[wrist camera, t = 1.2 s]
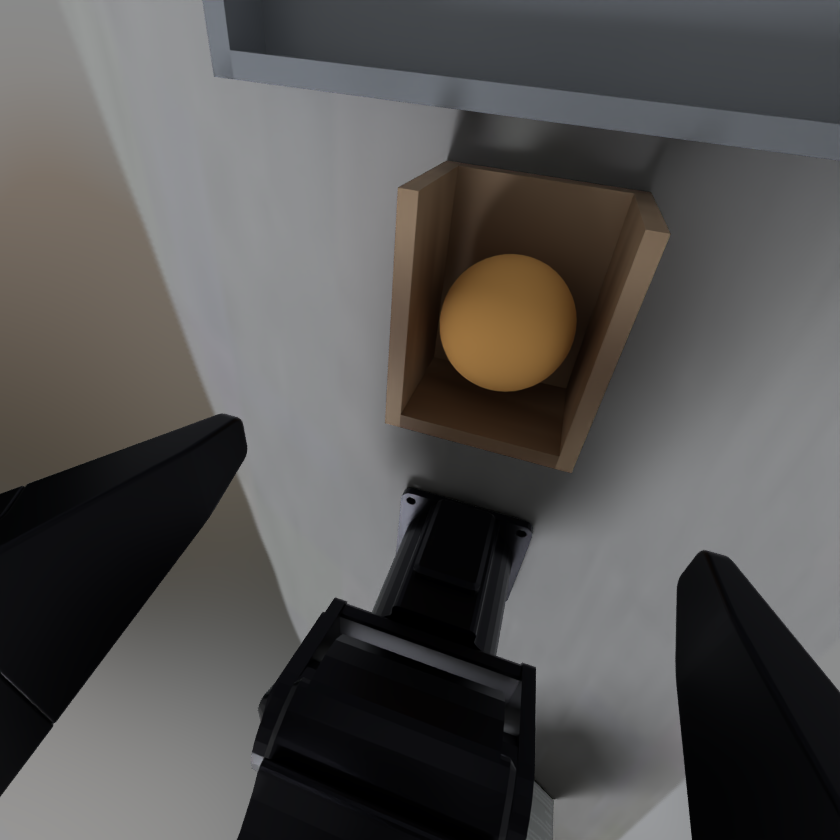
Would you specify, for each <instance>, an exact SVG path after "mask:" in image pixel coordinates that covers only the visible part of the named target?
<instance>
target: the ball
mask: <svg viewBox="0 0 840 840" xmlns="http://www.w3.org/2000/svg"><path fill="white" fill-rule="evenodd" d="M576 324H577V317H576V308H575V303H574V300H573V297H572V294H571V292H570V290H569V288H568V286H567V285H566V283H565V282H564V280H563V279H562V278H561V277H560V275H559V274H558V273H557V272H556V271H555V270H553V269H552V268H551V267H550V266H548V265H547V264H545V263H543V262H542V261H540V260H537V259H535V258H532V257H529V256H525V255H518V254H503V255H497V256H493V257H490V258H486V259H484V260H482V261H480V262H477V263H476V264H474V265H473V266H471V267H469V268H468V269H467V270H466V271H465V272H463V273H462V274H461V275H460V276H459V277H458V279H457V280H456V281H455V282H454V284H453V285H452V286H451V288H450V289H449V291H448V293H447V295H446V297H445V300H444V303H443V305H442V310H441V315H440V336H441V341H442V345H443V348H444V350H445V353H446V355H447V357H448V359H449V360H450V362H451V364H452V365H453V366H454V368H455V369H456V370H457V371H458V372H459V373H460V374H461V375H462V376H463V377H465V378H466V379H467V380H469V381H470V382H472V383H474V384H475V385H478V386H480V387H482V388H486V389H489V390H494V391H503V392H508V391H517V390H522V389H525V388H528V387H531V386H534V385H536V384H538V383H540V382H541V381H543V380H545V379H546V378H548V377H549V376H550V375H551V374H552V373H554V372H555V370H556V369H557V368H558V367H559V366H560V365H561V364H562V362H563V361H564V360H565V358H566V356H567V355H568V353H569V351H570V349H571V346H572V344H573V341H574V337H575V332H576Z"/></svg>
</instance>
